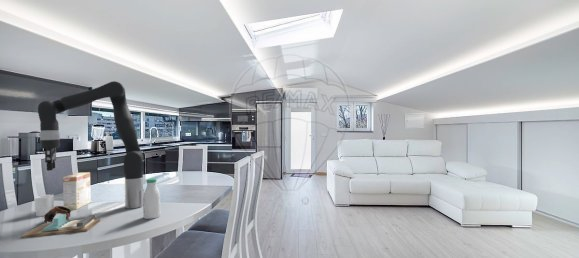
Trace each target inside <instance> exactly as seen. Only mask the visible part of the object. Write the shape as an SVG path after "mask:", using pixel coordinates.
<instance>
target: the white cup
mask: <svg viewBox="0 0 579 258" xmlns="http://www.w3.org/2000/svg"><path fill="white" fill-rule="evenodd" d="M33 199H34V210H35V217H44V216H45V214H46V213H48V212H49V211H50V210H51V209H53V208H54V203H55V194H52V193H51V194H50V193H49V194H42V195H38V196H35V197H34V198H33Z"/></svg>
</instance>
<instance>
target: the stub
mask: <svg viewBox="0 0 579 258" xmlns="http://www.w3.org/2000/svg"><path fill="white" fill-rule="evenodd" d="M68 221H69V219H68V220H66V214H60V215H58V216H56V217H54V218H53V222H51V223H49V224H50V225H49V226H47V227H45V228H43V231H51V230H57V229H58V228H59V227H60V226H62V225H63V224H65V223H67V222H68Z"/></svg>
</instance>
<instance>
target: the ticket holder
mask: <svg viewBox="0 0 579 258" xmlns="http://www.w3.org/2000/svg"><path fill="white" fill-rule="evenodd" d="M99 222H101V219H100V218H99V219H96V213H95V214H89V215H87V216H86V217H84V218H83V219H75V220H68V222H67V223H65V224H63V225H62V226H60V227H59V228H58V229H57V230H51V231H43V228H45V227H47V226H49V225H50V224H51V223H44V224H40V225H37V227H35V228H33V229H31V230H29V231H27V232H25V233H23V234H22V235H20V238H21V239H24V238H25V237H27V238H35V237H45V236H52V235H54V236H55V235H62V234H72V233H80V232H81V233H82V232H88V231H90V229H92V228H93V227H94V226H96V225H97V224H98V223H99ZM23 237H24V238H23ZM25 239H26V238H25Z"/></svg>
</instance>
